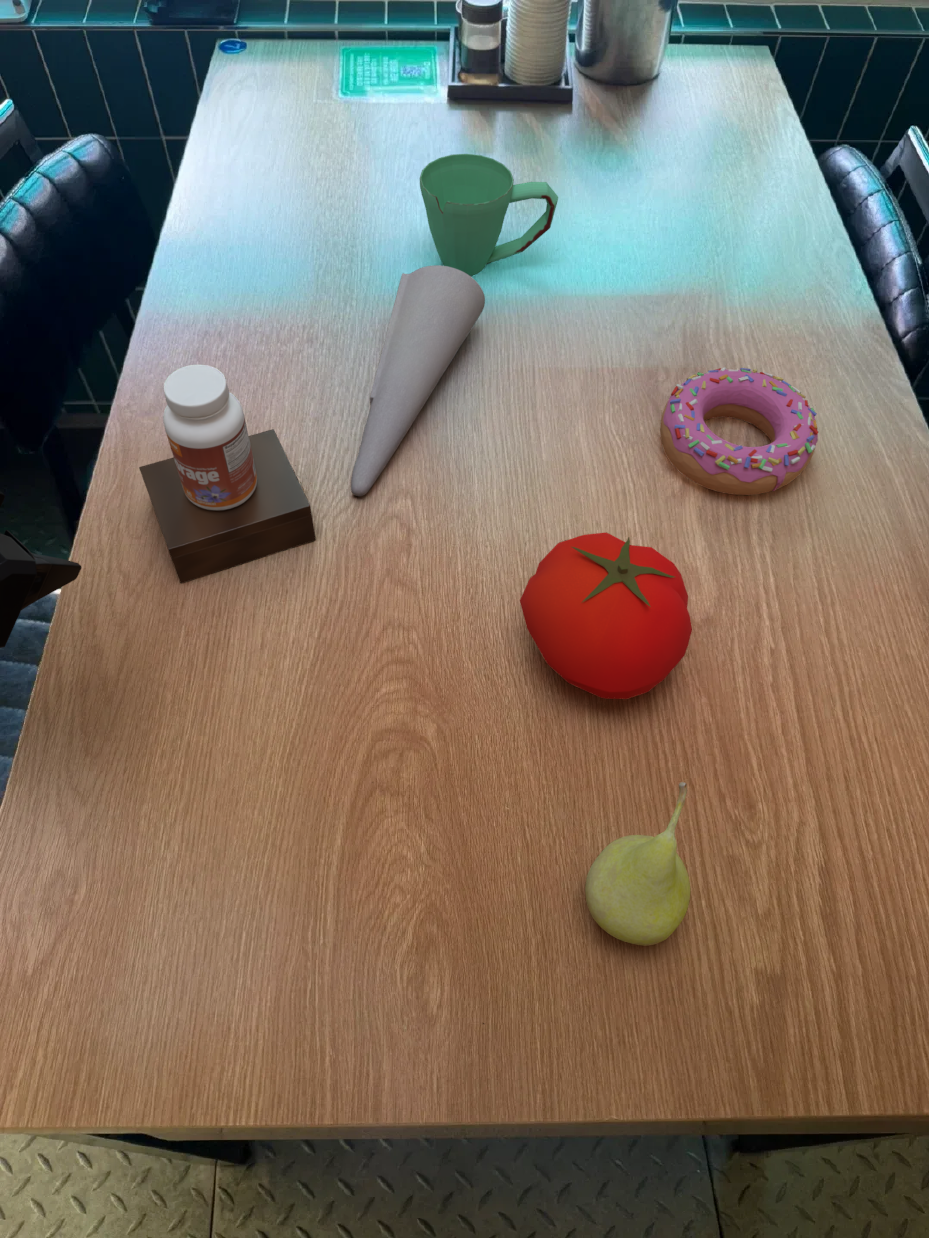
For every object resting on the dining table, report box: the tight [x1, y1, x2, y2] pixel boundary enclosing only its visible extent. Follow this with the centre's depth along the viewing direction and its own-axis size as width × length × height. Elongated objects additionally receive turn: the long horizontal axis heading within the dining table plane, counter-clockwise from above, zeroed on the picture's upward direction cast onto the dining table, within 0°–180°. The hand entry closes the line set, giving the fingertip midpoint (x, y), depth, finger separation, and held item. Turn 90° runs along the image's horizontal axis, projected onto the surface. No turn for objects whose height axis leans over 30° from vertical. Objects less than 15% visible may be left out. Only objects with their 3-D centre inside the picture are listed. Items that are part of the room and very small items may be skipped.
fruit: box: [584, 781, 691, 947], centre depth 60 cm, size 7×8×12 cm
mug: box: [419, 153, 559, 277], centre depth 103 cm, size 15×10×10 cm
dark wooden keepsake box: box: [139, 428, 317, 584], centre depth 82 cm, size 12×10×4 cm
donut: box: [659, 366, 819, 496], centre depth 88 cm, size 14×14×5 cm
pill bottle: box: [162, 364, 257, 510], centre depth 75 cm, size 6×6×11 cm
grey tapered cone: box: [350, 264, 486, 497], centre depth 91 cm, size 8×9×26 cm
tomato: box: [519, 531, 693, 700], centre depth 72 cm, size 13×12×11 cm
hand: (38, 534), depth 65 cm, fingers open, 9 cm apart
